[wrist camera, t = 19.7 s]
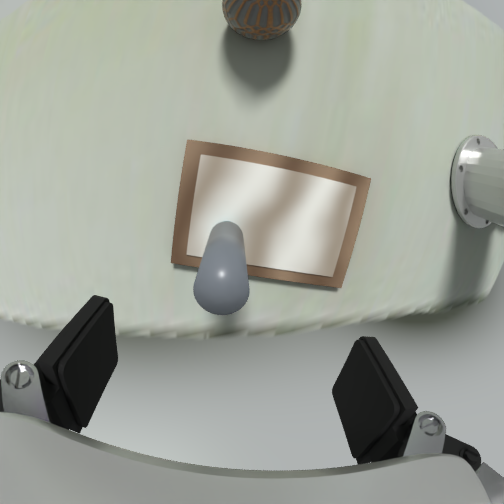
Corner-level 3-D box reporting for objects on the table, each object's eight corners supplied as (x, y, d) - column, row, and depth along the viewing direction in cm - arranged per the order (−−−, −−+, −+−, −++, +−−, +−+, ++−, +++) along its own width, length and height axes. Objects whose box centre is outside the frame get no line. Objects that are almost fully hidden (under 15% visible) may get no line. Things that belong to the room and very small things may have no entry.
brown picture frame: (366, 177, 26) (371, 178, 25) (338, 284, 30) (341, 288, 29) (189, 140, 24) (187, 139, 23) (172, 259, 28) (170, 263, 27)
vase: (283, -5, 19) (300, -50, 11) (299, 45, 22) (325, 6, 13) (218, 2, 19) (213, -45, 11) (230, 53, 22) (229, 12, 13)
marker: (245, 220, 26) (254, 269, 15) (240, 251, 27) (244, 318, 15) (213, 215, 26) (196, 260, 14) (208, 246, 26) (191, 310, 15)
